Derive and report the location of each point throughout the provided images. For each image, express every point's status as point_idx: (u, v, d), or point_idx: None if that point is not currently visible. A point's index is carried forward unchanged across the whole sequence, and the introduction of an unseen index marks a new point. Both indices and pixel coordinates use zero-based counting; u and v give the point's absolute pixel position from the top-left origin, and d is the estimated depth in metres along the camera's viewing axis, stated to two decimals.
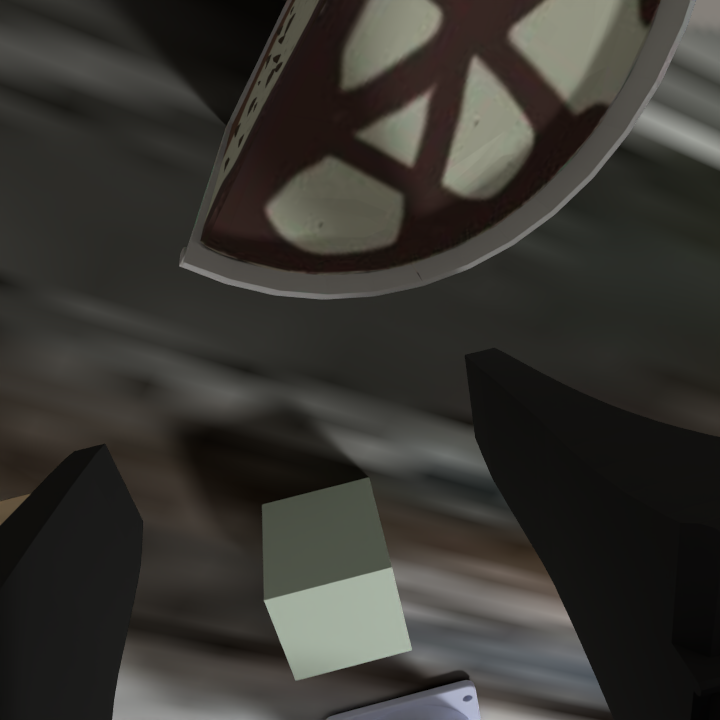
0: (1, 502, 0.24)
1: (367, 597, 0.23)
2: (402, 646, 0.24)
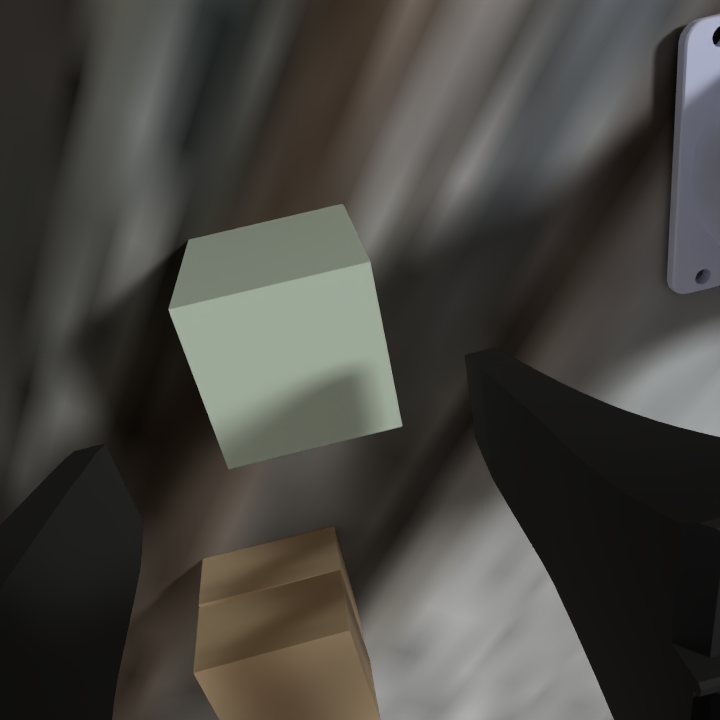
0: None
1: (233, 340, 0.14)
2: (356, 278, 0.14)
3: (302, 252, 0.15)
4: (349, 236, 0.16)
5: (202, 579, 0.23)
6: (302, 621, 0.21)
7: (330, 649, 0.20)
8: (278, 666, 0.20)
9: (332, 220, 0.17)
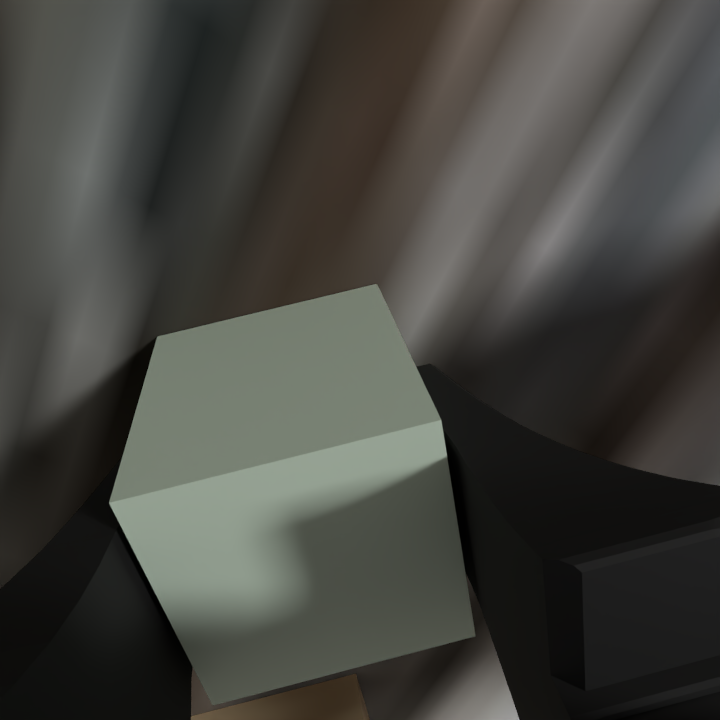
0: None
1: (217, 539, 0.09)
2: (418, 444, 0.09)
3: (325, 383, 0.10)
4: (396, 353, 0.10)
5: None
6: None
7: None
8: None
9: (366, 317, 0.12)
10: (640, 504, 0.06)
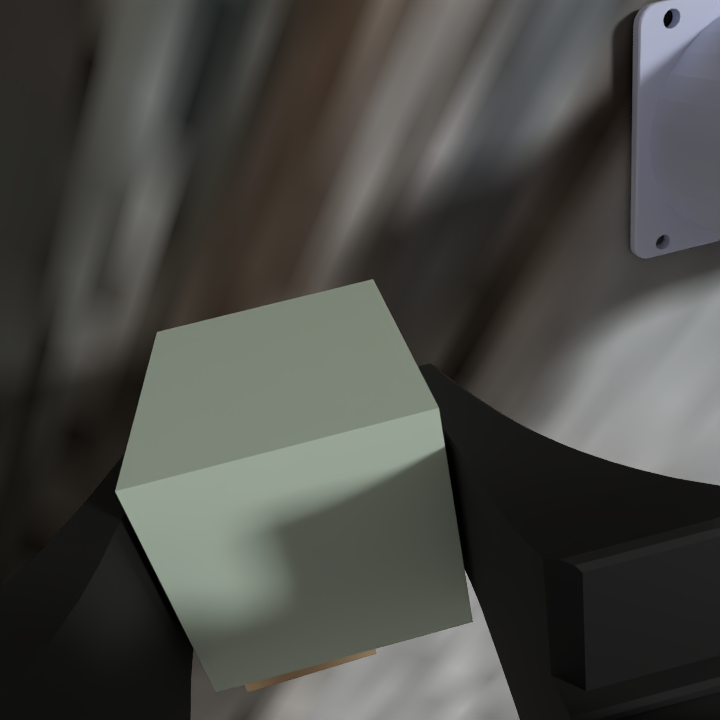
0: None
1: (221, 527, 0.09)
2: (416, 433, 0.09)
3: (325, 374, 0.10)
4: (393, 345, 0.11)
5: None
6: None
7: None
8: None
9: (363, 311, 0.12)
10: (642, 504, 0.06)
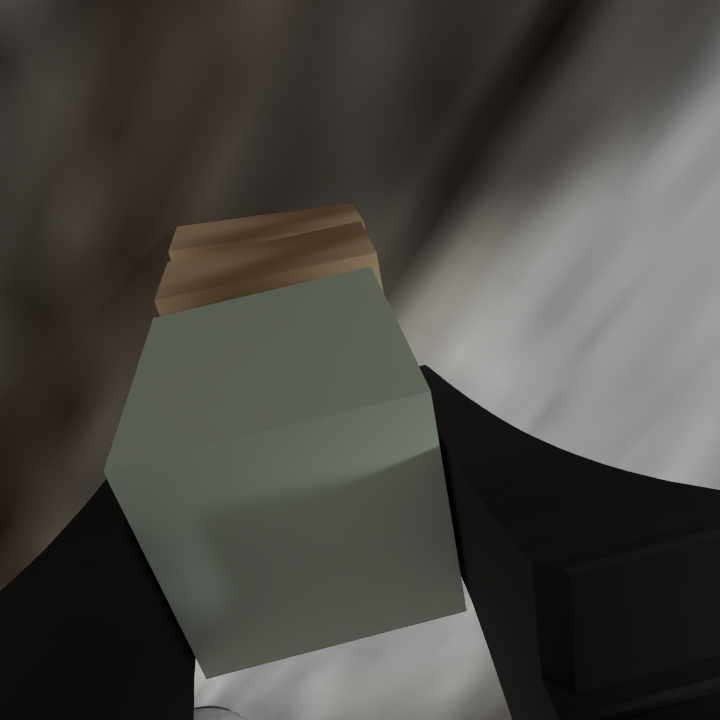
0: None
1: (210, 510, 0.09)
2: (407, 416, 0.09)
3: (317, 359, 0.10)
4: (388, 330, 0.10)
5: (175, 237, 0.17)
6: (310, 253, 0.15)
7: None
8: None
9: (359, 297, 0.12)
10: (632, 506, 0.06)
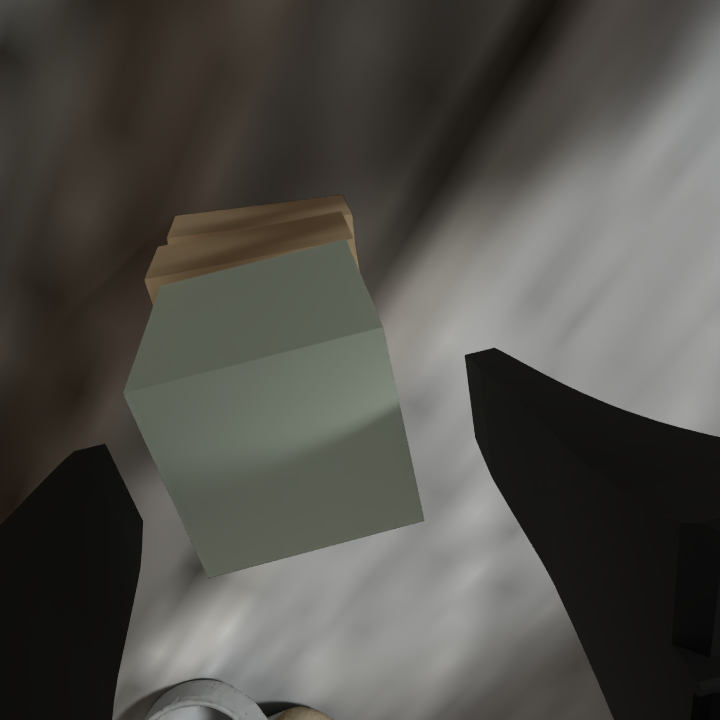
0: None
1: (208, 427, 0.11)
2: (365, 348, 0.11)
3: (296, 309, 0.12)
4: (354, 286, 0.13)
5: (173, 226, 0.18)
6: (292, 239, 0.16)
7: None
8: None
9: (333, 263, 0.14)
10: None
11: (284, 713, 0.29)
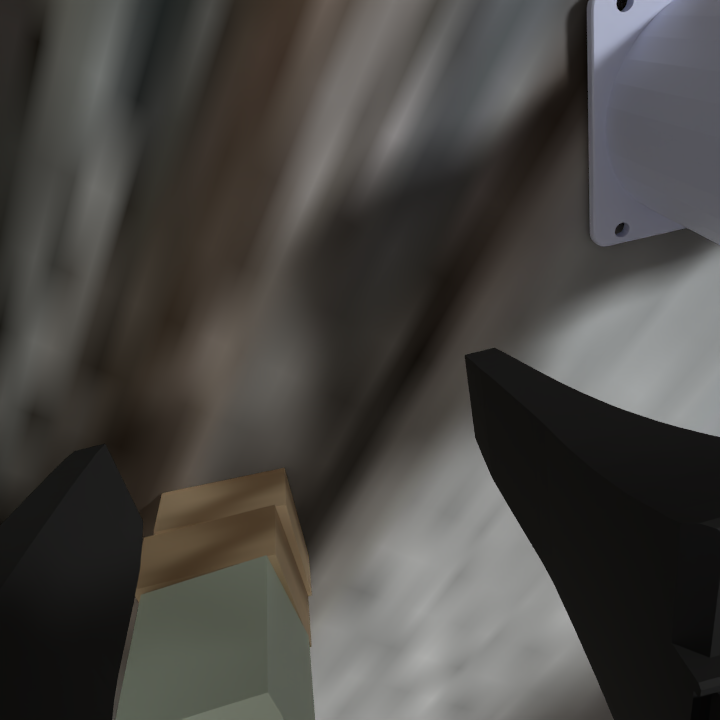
0: None
1: None
2: (259, 702, 0.18)
3: (221, 654, 0.19)
4: (260, 630, 0.19)
5: (159, 511, 0.25)
6: (235, 547, 0.22)
7: None
8: None
9: (253, 591, 0.20)
10: None
11: None
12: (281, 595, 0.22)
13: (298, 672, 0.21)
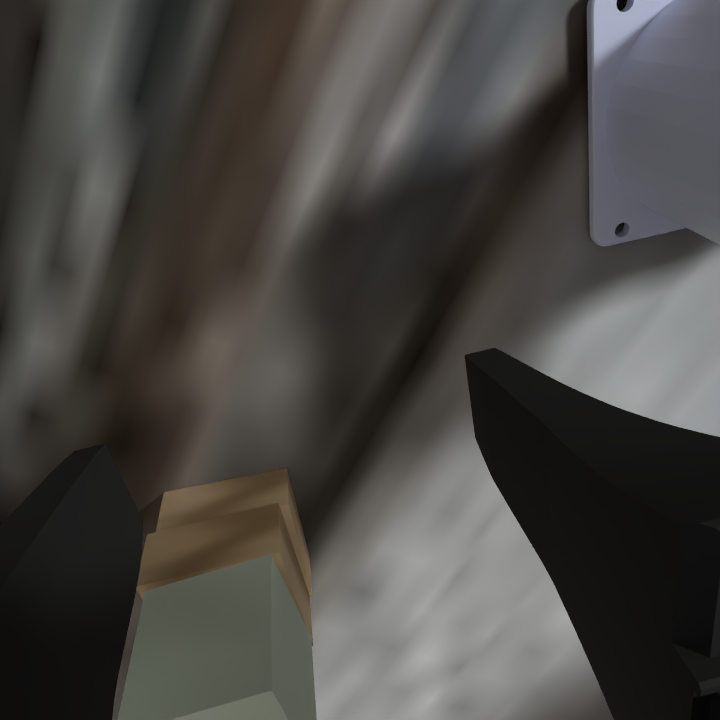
0: None
1: None
2: (262, 700, 0.18)
3: (225, 652, 0.19)
4: (265, 629, 0.19)
5: (161, 510, 0.25)
6: (238, 545, 0.22)
7: None
8: None
9: (258, 590, 0.21)
10: None
11: None
12: (285, 594, 0.22)
13: (301, 671, 0.21)
